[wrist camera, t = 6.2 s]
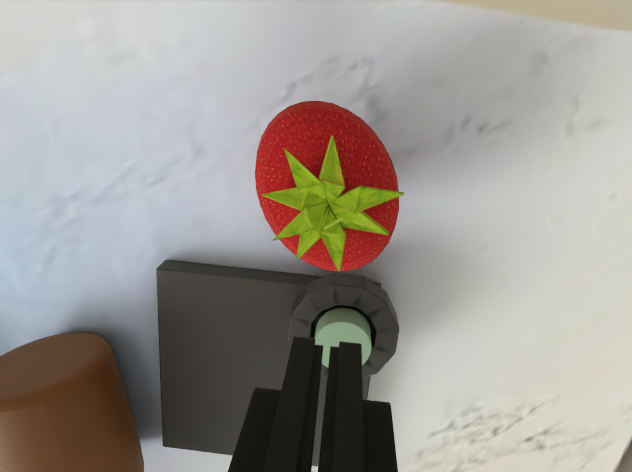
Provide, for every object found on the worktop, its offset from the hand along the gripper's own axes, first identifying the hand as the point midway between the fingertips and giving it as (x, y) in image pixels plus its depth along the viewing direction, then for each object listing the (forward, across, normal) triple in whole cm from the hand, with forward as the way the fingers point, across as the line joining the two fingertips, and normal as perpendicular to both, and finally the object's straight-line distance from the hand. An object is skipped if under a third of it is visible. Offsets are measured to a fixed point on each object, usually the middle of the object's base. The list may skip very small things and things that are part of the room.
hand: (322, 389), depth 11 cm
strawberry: (+15, +1, -2) cm, 15 cm away
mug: (+12, +18, +10) cm, 24 cm away
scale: (+15, +4, +11) cm, 18 cm away
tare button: (+12, -1, +6) cm, 14 cm away
